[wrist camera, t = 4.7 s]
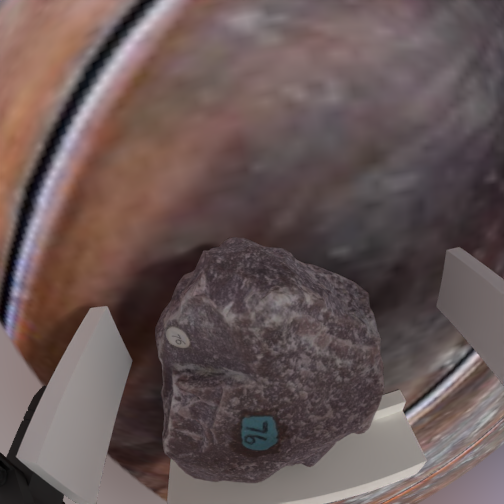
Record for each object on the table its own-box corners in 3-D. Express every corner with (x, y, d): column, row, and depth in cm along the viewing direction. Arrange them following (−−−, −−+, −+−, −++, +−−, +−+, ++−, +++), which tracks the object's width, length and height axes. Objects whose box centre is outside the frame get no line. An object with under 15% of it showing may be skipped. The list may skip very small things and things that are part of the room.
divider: (167, 430, 15) (160, 502, 10) (399, 389, 15) (432, 452, 11) (186, 458, 17) (184, 520, 12) (387, 423, 17) (412, 479, 12)
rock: (376, 218, 10) (459, 292, 6) (334, 406, 15) (358, 473, 11) (135, 237, 9) (91, 337, 5) (191, 425, 15) (193, 498, 10)
